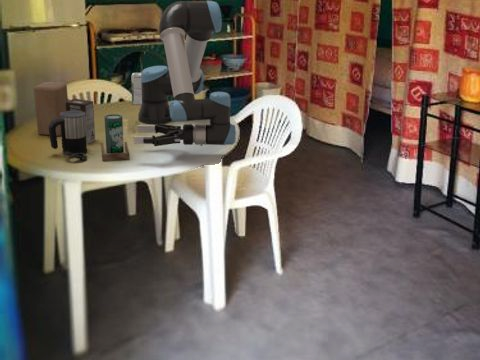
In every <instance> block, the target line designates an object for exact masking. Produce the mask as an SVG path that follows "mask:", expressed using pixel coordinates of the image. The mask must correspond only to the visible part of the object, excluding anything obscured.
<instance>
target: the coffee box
mask: <svg viewBox="0 0 480 360" xmlns="http://www.w3.org/2000/svg"><path fill="white" fill-rule="evenodd" d="M66 111H82V112H85V130H86V145H88V144H91V143H92V142H94V141H96V128H95V125H96V124H95V113H94V112H95V109H94V101H93V100H89V99H88V100H87V99H80V98H72V99H70V100H69V99H68V101H67V102H66Z"/></svg>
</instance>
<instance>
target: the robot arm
mask: <svg viewBox="0 0 480 360" xmlns="http://www.w3.org/2000/svg"><path fill="white" fill-rule="evenodd" d="M222 22H223V21H222V13H221V7H220V5H219V3H217V1H213V0H212V1H211V0H210V1H209V0H199V1H198V0H197V1H196V0H193V1H191V0H190V1H189V0H186V1H185V0H184V1H183V0H179V1H175V2H173V3H171V4H170V5H168V6H167V7H166V8H165V10H163V13H162V14H161V17H160V19H159V25H158V32H159V34H158V35H159V39H160V40H161V41H163V46H164V51H165V56H166V58H165V59H166V62H167V66H166V65H153V66H148V67H146V68H144V69H142V71H141V72H140V73H141V92H142V104H141V105H140V108H139V112H138V116H137V117H138V121H139V122H140V123H143V124H139V125H136V126H137V127H136V129H137V133H142V134H143V133H145V134H147V133H149V134H152V135H134V136H133V144H134V145H153V146H154V147H159V146H166V145H174V144H181V141H183V142H182V144H183V145H187V146H189V145H191V146H192V145H199V146H201V147H202V146H203V145H207V146H208V145H209V146H213V145H214V146H215V145H216V146H230V145H234V144H235V143H236V134H237V133H236V125H235V124H232V123H231V110H232V109H231V105H232V104H231V103H232V102H231V95H230V94H229V93H228V92H224V91H214V92H211V93H210V94H209V98H200V99H199V98H198V99H196V98H195V95H198V94H200V93H201V92H202V91H203V88H204V82H205V81H204V80H205V78H204V72H203V70H202V69H201V65H202V60H203V58H204V54H205V51H206V48H207V43H208V41H210V40H211V39H212V38H213V37H214V33H220V32H221V30H222V27H223V26H222V25H223V23H222ZM185 36H186V37H185ZM184 38H185V39H184ZM172 96H173V100H171V101H170V102H169V97H172ZM205 120H206V121H207V120H209V124H206V123H205V124H204V123H198V124H197V123H195V124H193V123H192V124H191V123H190V124H187V123H185V124H183V127H182V126H181V125H172V124H166V123H170V122H172V121H174V122H190V121H193V122H194V121H205ZM153 133H154V134H158V133H159V134H162V135H157V136H155V135H153Z"/></svg>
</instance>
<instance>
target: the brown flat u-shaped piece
mask: <svg viewBox="0 0 480 360" xmlns="http://www.w3.org/2000/svg"><path fill="white" fill-rule="evenodd" d="M100 146H101V147H100V148H101V158H102V159H101V160H102V162H110V161H113V162H114V161H129V160H130V151H129V147H128V142H127V141H124V153H105V148H104V147H105V146H104V142H100Z"/></svg>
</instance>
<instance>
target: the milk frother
mask: <svg viewBox="0 0 480 360" xmlns="http://www.w3.org/2000/svg"><path fill="white" fill-rule="evenodd" d="M60 115H61V118H58V119H54V120H52V121H51V122H50V124H49V135H48V136H49V141H50V146H51V149H54V150H57V149H58V146H59V145H58V139H57V138H58V136H56V127H57V126H58V125H61V135H60V136H61V149H62V153H63V154H65V155H67V156H70V157H73V158H75V159H78V160H80V161H82V160H83V159H84V160H85V159H87V154H85V153H87V152H88V151H89V149H88V147H87V145H88V144H86V130H85V112H82V111H65V112H62V113H60Z"/></svg>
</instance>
